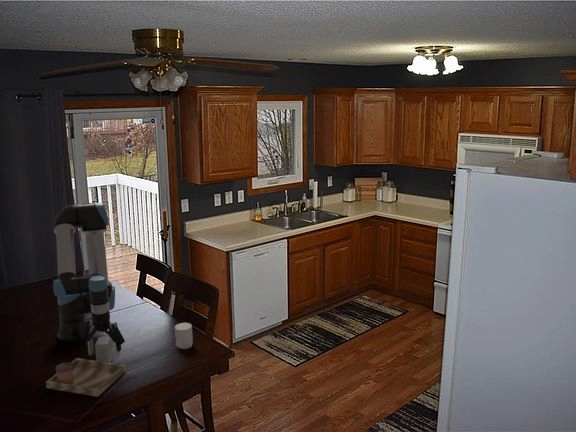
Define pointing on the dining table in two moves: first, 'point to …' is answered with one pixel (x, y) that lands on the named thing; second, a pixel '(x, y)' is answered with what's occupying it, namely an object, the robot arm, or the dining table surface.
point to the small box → (104, 349)
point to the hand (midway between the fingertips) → (104, 355)
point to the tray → (89, 377)
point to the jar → (65, 373)
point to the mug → (183, 335)
